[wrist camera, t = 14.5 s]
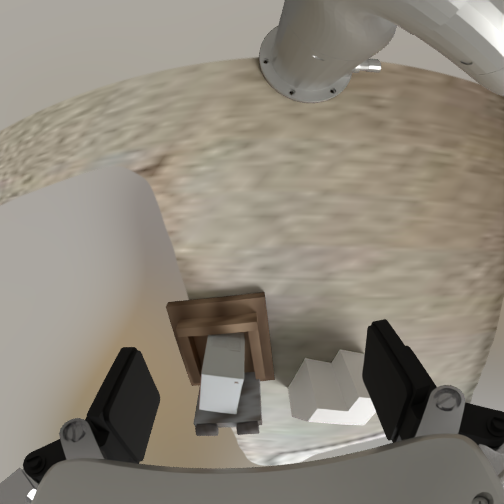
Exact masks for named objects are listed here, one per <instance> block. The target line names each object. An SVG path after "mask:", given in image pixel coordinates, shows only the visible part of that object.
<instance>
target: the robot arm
mask: <svg viewBox="0 0 504 504" xmlns="http://www.w3.org/2000/svg"><path fill="white" fill-rule="evenodd" d="M396 26H399V27H401V28H402V29H404V30H406V31H407V32H409V33H410V34H412V35H415V36H417V37H418V38H420V39H421V40H423V41H424V42H425V43H427V44H429V45H430V46H431V47H433V48H434V49H436V50H437V51H438V52H440V53H441V54H442V55H444V56H445V57H446V58H448V59H449V60H450V61H451V62H453V63H454V64H455V65H457V66H458V67H459V68H460V69H462V70H463V71H464V72H466V73H467V74H468V75H469V76H470V77H472V78H473V79H474V80H475V81H477V82H478V83H479V84H480V85H482V86H483V87H485V88H486V89H488V90H490V91H491V92H493V93H496V94H498V95H501V96H504V0H285V2H284V7H283V10H282V14H281V18H280V22H279V26H277V27H275V28H274V29H273V30H271V31H270V32H269V33H268V34H267V36H266V37H265V38H264V40H263V42H262V44H261V48H260V53H259V62H260V67H261V71H262V73H263V75H264V77H265V79H266V80H267V82H268V83H269V84H270V85H271V86H272V87H273V88H274V89H275V90H276V91H277V92H278V93H280V94H282V95H283V96H285V97H287V98H289V99H292V100H294V101H298V102H303V103H318V102H323V101H326V100H329V99H331V98H333V97H335V96H336V95H338V94H339V93H341V92H342V91H343V90H344V89H345V87H346V86H347V84H348V83H349V81H350V78H351V75H352V73H358V72H359V70H362V71H367V72H380V70H381V63H380V61H379V60H378V59H369V58H370V57H372V56H373V55H375V54H376V53H378V52H379V51H381V50H382V49H383V48H385V46H387V45H388V44H389V42H390V41H391V39H392V38H393V36H394V34H395V31H396ZM264 61H267V64H265V63H264ZM330 90H332V91H333V93H331V92H330ZM289 92H293V95H290V93H289ZM362 378H363V382H364V384H365V387H366V389H367V391H368V394H369V396H370V398H371V401H372V403H373V405H374V408H375V410H376V413H377V415H378V417H379V420H380V422H381V425H382V427H383V430H384V432H385V435H386V437H387V439H388V440H392V442H393V443H390V444H387V445H383V446H380V447H376V448H372V449H368V450H364V451H360V452H355V453H351V454H346V455H342V456H337V457H332V458H326V459H321V460H315V461H309V462H302V463H294V464H286V465H277V466H266V467H252V468H226V469H207V468H205V469H203V468H179V467H165V466H154V465H145V464H139V462H140V461H142V460H143V459H144V455H145V451H146V448H147V444H148V441H149V437H150V434H151V430H152V427H153V423H154V420H155V416H156V413H157V409H158V406H159V403H160V395H159V392H158V390H157V388H156V386H155V384H154V381H153V379H152V377H151V375H150V372H149V370H148V367H147V365H146V363H145V360H144V358H143V356H142V354H141V352H140V351H138V350H137V349H136V348H135V347H123V348H122V349H121V350H120V352H119V354H118V356H117V357H116V359H115V361H114V363H113V365H112V367H111V368H110V371H109V372H108V374H107V376H106V378H105V380H104V382H103V384H102V386H101V387H100V390H99V392H98V393H97V395H96V398H95V399H94V401H93V403H92V405H91V407H90V409H89V411H88V413H87V417H86V419H85V420H84V419H80V418H75V419H72V420H69V421H68V422H66V423H65V424H64V425H63V426H62V428H61V429H60V433H59V435H60V439H59V440H57V441H55V442H52V443H50V444H48V445H46V446H44V447H42V448H40V449H37V450H35V451H33V452H31V453H29V454H28V455H27V456H26V458H25V460H24V463H23V467H24V469H23V470H21V469H20V468H19V469H17V470H16V471H15V472H14V473H13V474H11V475H10V476H9V477H8V478H7V479H5V480H4V481H3V482H1V483H0V504H504V412H502V411H498V410H493V409H489V408H485V407H481V406H476V405H473V404H469V403H465V397H464V394H463V393H462V391H461V390H460V389H458V388H457V387H454V386H451V385H443V386H439V387H436V385H435V384H434V382H433V381H432V379H431V378H430V376H429V375H428V373H427V372H426V370H425V369H424V367H423V366H422V364H421V363H420V361H419V360H418V358H417V357H416V355H415V354H414V352H413V351H412V350H411V348H410V347H409V346H405V345H404V344H403V342H402V341H401V339H400V338H399V336H398V335H397V334H396V332H395V331H394V329H393V328H392V327H391V325H390V324H389V322H388V321H387V320H386V319H384V320H379V321H374V322H372V324H371V326H368V329H367V339H366V348H365V356H364V364H363V371H362Z"/></svg>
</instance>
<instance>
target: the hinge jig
mask: <svg viewBox="0 0 504 504" xmlns="http://www.w3.org/2000/svg"><path fill="white" fill-rule="evenodd" d="M166 308H167V312H168V315H169V319H170V322H171V325H172V328H173V331H174V335H175V338H176V341H177V344H178V347H179V350H180V353H181V356H182V359H183V362H184V365H185V368H186V371H187V374H188V377H189V379H190V382H191V385H192V386H193V385H200V381H201V371H202V366H203V360H204V355H205V349H206V344H207V338H208V335H215V334H227V333H237V332H242V333H244V341H245V345H244V381H243V385H242V389H241V393H240V398H239V403H238V408H237V414H228V413H220V412H213V411H206V410H200V409H199V395H200V390H199V395H198V401H197V406H196V412H195V419H194V425H195V427H196V428H195V429H196V435H197V436H216V435H218V427H237V434H238V435H242V434H256V433H259V425H262V412H261V392H260V381H267V380H275V378H274V369H273V360H272V352H271V343H270V335H269V326H268V318H267V310H266V301H265V293H264V292H261V293H253V294H244V295H235V296H226V297H217V298H207V299H197V300H186V301H175V302H168V304H167V306H166Z"/></svg>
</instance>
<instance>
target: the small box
mask: <svg viewBox="0 0 504 504" xmlns="http://www.w3.org/2000/svg"><path fill="white" fill-rule="evenodd" d="M244 345H245V341H244V333H242V332H237V333H227V334H215V335H208V338H207V344H206V349H205V355H204V360H203V366H202V371H201V381H200V395H199V409H200V410H206V411H213V412H220V413H228V414H237V408H238V403H239V398H240V393H241V389H242V385H243V381H244Z"/></svg>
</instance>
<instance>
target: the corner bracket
mask: <svg viewBox="0 0 504 504" xmlns="http://www.w3.org/2000/svg"><path fill="white" fill-rule="evenodd" d="M364 356H365V355H364V354H363V353H357V352H352V351H347V350H342V349H340V350H339V351H338V353H337V355H336V356H335V358H334V360H333V361H332V363H329V362H324V361H318V360H313V359H308V358H305V359H304V361H303V363H302V364H301V366H300V368H299V370H298V371H297V373H296V375H295V377H294V378H293V380H292V382H291V383H290V385H289V387H288V392H289V399H290V406H291V412H292V417H295V418H298V419H301V420H304V421H308V422H318V423H330V424H346V425H365V424H366V423H367V421H368V420H369V419H370V418H371V417H372V416H373V415H374V413H375V412H376V410H375V408H374V405H373V403H372V401H371V398H370V396H369V394H368V391H367V389H366V387H365V384H364V382H363V378H362V371H363V364H364Z"/></svg>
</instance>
